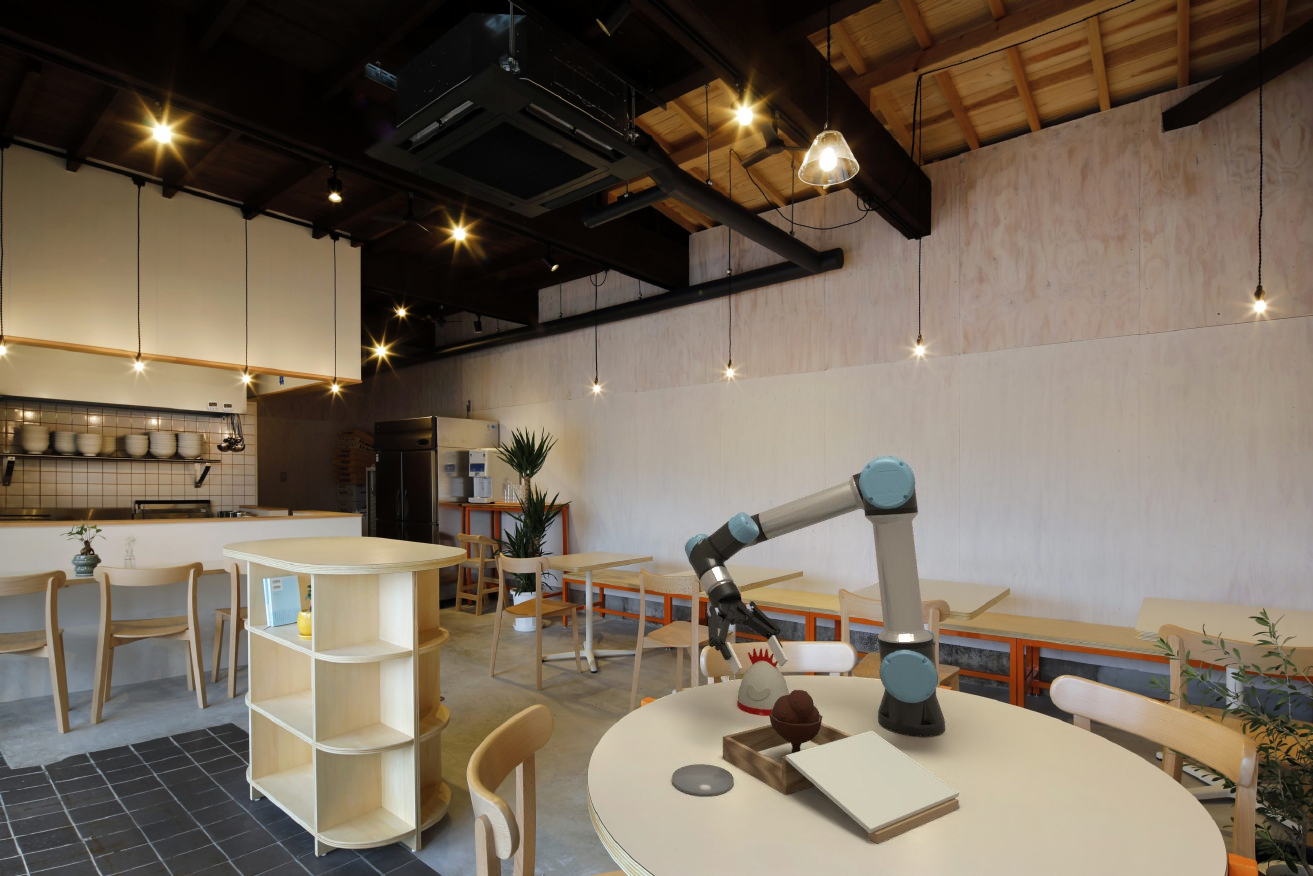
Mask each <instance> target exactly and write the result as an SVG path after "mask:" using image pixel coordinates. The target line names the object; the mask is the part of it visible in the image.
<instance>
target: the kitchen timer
mask: <svg viewBox="0 0 1313 876" xmlns="http://www.w3.org/2000/svg"><path fill="white" fill-rule="evenodd" d="M768 650H769V649H768V648H766V649H765V651H764V653H763V648H760V650H759V652H758V653H757V650H756V648H755V647H754V648H753V649H752V654H751V653H750V652H749V651H748V652H747V655H748V658H749V660H750V662H751V665H750V667H749V668H748V669H747V670H746V672H745V673H743V674H742V675H741V678H742V679H741V682H740V685H739V688H738V693H737V708H738V709H739V710H740V711H743V712H744V713H747V714H750V715H756V716H762V717H769V715H770V713H771V711H772V710H773V707H774V704H775V702H776V701H777V699H779V698H780V697H781V696H784V695H789V694H790V690H789V688H788V684H787V681H786V679H785V677H784V675H783V673H782V672H781V670H780V669H779V667H777V665H778V662H777V660H776V661H775V662H773V658H774V654H773V653H772V654H771V655H770V656H769V651H768Z"/></svg>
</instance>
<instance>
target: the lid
mask: <svg viewBox="0 0 1313 876" xmlns="http://www.w3.org/2000/svg"><path fill="white" fill-rule="evenodd" d="M785 756H786V760H787V761H788V762H789V763H790V764H791V765H792V766H794V767H795V768H796V769H797V770H798V771H799V772H800V773H802V774H803V775H804V776H805V777H806V778H807V779H808V780H809V781H811V782H812V783H813V784H814V786H815V787H816V788H818V789H819V790H820V792H822V793H823V794H824V795H825V796H826V797H828V798H829V799H830V800H831V801H832V802H833V803H835V805H837V806H838V807H839V808H840V809H841V810H843V812H845V813H846V814H847V815H848V816H849V817H850V818H851V819H852V820H854V822H856V823H857V824H858V825H860V826H861V828H863V829H864V830H865V831H866V832H867V833H866V835H867V836H866V837H867V838H866V839H868V840H870V841H871V842H873V843H875V844H877V845H879V844H881V843H883V842H885V841H888V840H890V839H892V838H894V837H897V836H898V835H901V834H904V833H906V832H909V831H910V830H913V829H916V828H918V827H919V826H922V825H924V824H926V823H929V822H931V821H933V820H935V819H938V818H940V817H943V816H945V815H947V814H949V813H952V812H954V811H956V810H958V809H959V807H960V806H959V805H960V804H959V801H960V800H959V799H958V797H959V796H960V791H959V790H957V789H956V788H954V787H953V786H951V785H950V784H948V782H947V783H946V781H944V780H942V779H941V778H940V777H938V776H936V775H935V774H934V773H933V772H931V771H930V770H928V769H927V768H926V767H924V766H923V765H921V764H920V763H918V762H917V761H916V760H914V759H913V758H911V756H909V755H907V754H906V753H904V752H903V751H901V750H900V749H899V748H897V747H896V746H894V744H891V742H888V741H887V740H886V739H884V738H883V737H881V736H880V735H879V734H877V732H875V731H873V730H868V731H865V732H862V733H858V734H855V735H852V736H851V737H847V738H844V739H841V740H837V741H834V742H830V743H827V744H823V745H817V746H814V747H811V748H806V749H804V750H800V751H799V752H796V753H793V754H791V753H789V754H786V755H785Z"/></svg>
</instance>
